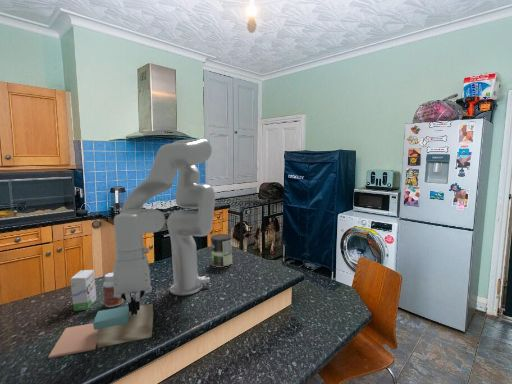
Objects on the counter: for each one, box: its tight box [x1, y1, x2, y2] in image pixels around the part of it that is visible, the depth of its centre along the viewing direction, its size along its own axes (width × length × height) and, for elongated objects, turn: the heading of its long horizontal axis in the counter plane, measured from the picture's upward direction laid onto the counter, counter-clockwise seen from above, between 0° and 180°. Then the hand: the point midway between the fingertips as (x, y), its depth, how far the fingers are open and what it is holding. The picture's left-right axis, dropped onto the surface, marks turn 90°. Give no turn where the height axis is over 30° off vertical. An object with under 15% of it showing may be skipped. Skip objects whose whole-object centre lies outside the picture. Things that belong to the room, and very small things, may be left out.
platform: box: [97, 303, 154, 348], centre depth 87 cm, size 14×13×4 cm
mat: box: [48, 322, 99, 359], centre depth 84 cm, size 11×14×1 cm
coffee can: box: [210, 233, 233, 268], centre depth 142 cm, size 10×10×14 cm
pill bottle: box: [102, 272, 124, 308], centre depth 104 cm, size 6×6×11 cm
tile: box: [92, 305, 130, 330], centre depth 86 cm, size 9×7×2 cm
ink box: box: [70, 269, 97, 312], centre depth 104 cm, size 8×5×12 cm, turn 10°
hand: (134, 312), depth 88 cm, fingers closed
